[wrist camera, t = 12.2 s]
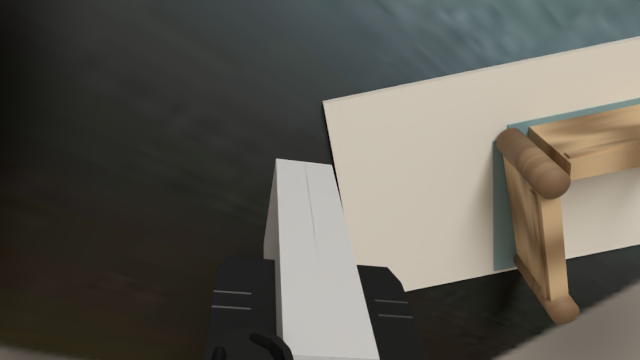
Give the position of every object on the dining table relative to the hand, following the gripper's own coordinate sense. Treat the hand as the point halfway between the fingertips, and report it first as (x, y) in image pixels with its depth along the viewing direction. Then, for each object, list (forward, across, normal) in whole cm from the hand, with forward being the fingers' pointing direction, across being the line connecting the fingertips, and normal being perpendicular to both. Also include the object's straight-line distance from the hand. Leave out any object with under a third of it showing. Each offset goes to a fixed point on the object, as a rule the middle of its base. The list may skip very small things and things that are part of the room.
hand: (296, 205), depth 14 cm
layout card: (+24, +21, -10) cm, 34 cm away
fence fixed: (+24, +27, -4) cm, 36 cm away
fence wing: (+23, +22, -12) cm, 34 cm away
